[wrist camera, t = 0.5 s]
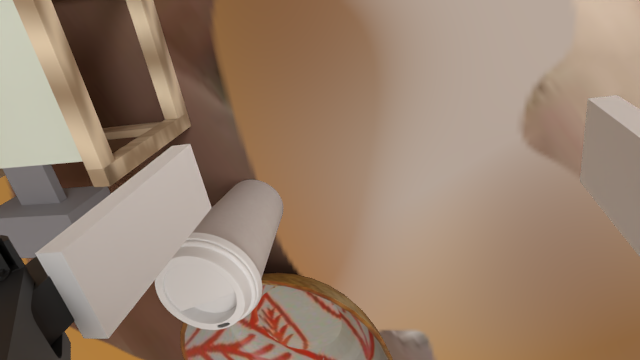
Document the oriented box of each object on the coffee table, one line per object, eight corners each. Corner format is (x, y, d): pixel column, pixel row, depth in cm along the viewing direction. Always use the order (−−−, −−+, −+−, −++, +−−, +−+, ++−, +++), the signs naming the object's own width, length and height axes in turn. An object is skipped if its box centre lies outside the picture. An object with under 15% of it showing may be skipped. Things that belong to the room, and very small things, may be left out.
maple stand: (0, -12, 42) (-169, -3, 30) (140, -42, 38) (14, -45, 26) (66, 138, 49) (-48, 197, 36) (191, 125, 45) (110, 186, 33)
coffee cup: (226, 239, 51) (164, 334, 38) (207, 168, 47) (130, 247, 34) (302, 239, 49) (264, 339, 36) (289, 164, 45) (241, 247, 32)
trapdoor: (-81, 18, 33) (-155, 26, 29) (44, -8, 30) (-17, -3, 26) (31, 227, 41) (-14, 258, 37) (137, 223, 38) (102, 256, 34)
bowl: (335, 206, 46) (322, 249, 39) (430, 360, 54) (434, 419, 47) (171, 274, 55) (137, 318, 48) (272, 397, 63) (256, 451, 56)
